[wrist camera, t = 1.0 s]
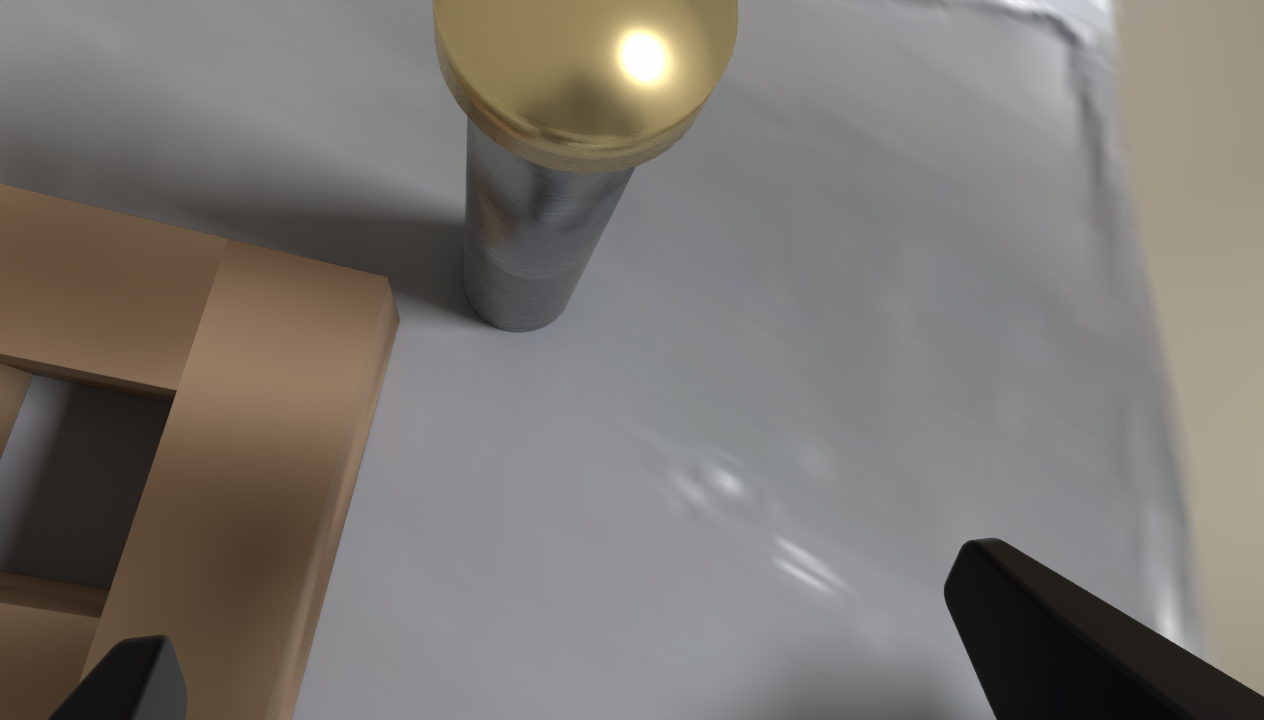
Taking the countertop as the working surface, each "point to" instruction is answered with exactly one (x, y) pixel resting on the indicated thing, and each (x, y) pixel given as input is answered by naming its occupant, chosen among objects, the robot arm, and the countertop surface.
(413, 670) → the countertop surface
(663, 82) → the steel pin
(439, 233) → the countertop surface
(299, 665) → the socket block
